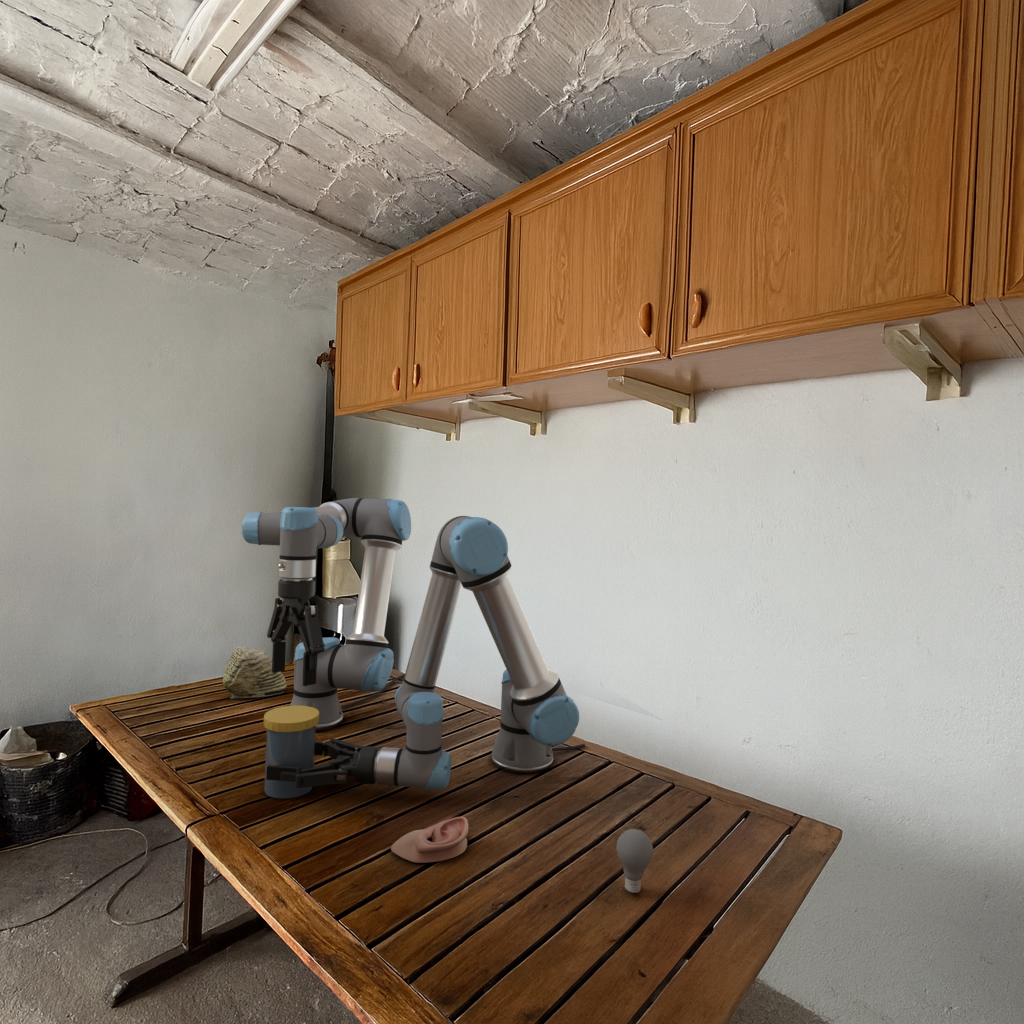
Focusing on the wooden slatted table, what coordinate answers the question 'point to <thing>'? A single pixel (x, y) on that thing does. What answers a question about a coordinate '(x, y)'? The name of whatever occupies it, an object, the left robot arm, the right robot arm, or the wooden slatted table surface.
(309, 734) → the jar
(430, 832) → the anatomical model
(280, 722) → the lid
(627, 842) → the light bulb
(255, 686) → the fossil
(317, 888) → the wooden slatted table surface
